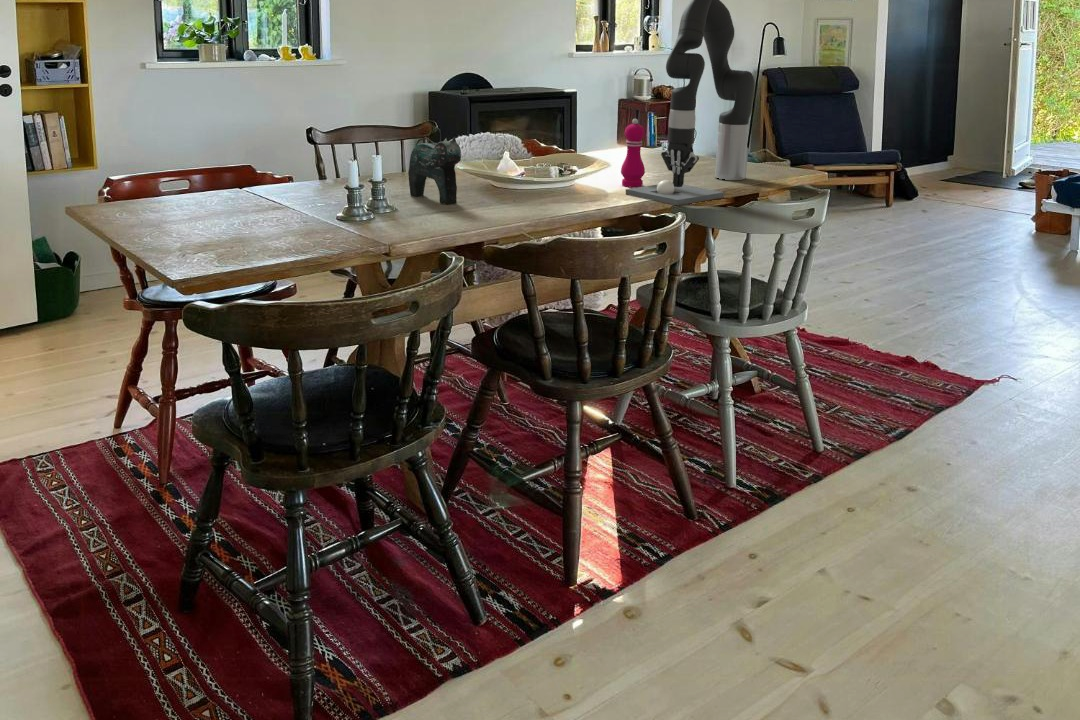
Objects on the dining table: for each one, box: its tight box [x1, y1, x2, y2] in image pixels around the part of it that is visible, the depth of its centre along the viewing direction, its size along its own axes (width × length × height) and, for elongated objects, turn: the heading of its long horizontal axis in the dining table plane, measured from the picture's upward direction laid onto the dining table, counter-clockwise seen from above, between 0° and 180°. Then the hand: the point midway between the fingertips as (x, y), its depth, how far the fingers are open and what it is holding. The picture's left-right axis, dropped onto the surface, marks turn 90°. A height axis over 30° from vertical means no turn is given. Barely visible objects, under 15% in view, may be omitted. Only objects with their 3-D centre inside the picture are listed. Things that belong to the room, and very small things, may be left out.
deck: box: [625, 181, 725, 206], centre depth 307 cm, size 20×20×2 cm
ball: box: [656, 179, 674, 195], centre depth 304 cm, size 5×5×5 cm
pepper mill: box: [620, 118, 646, 188], centre depth 318 cm, size 7×7×20 cm
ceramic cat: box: [407, 127, 462, 206], centre depth 292 cm, size 20×6×20 cm, turn 42°
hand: (677, 186), depth 307 cm, fingers closed
